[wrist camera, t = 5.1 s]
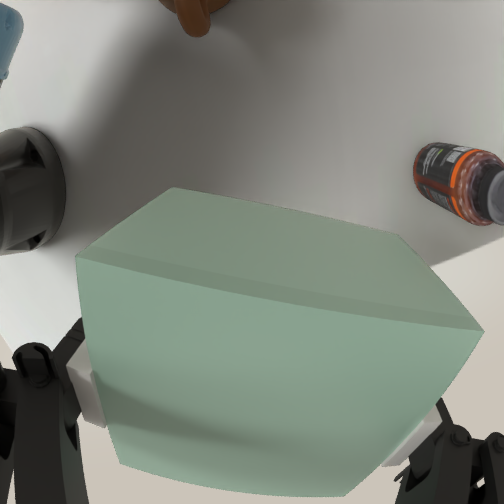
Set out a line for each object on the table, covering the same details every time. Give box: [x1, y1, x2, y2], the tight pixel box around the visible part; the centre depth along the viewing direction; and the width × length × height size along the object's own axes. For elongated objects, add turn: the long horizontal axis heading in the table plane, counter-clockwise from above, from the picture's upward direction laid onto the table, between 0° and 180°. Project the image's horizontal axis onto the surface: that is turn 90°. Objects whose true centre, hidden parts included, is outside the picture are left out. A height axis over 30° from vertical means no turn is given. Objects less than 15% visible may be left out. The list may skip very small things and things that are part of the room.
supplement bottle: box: [413, 143, 504, 226], centre depth 20 cm, size 6×6×11 cm
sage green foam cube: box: [75, 187, 484, 497], centre depth 10 cm, size 9×9×7 cm
